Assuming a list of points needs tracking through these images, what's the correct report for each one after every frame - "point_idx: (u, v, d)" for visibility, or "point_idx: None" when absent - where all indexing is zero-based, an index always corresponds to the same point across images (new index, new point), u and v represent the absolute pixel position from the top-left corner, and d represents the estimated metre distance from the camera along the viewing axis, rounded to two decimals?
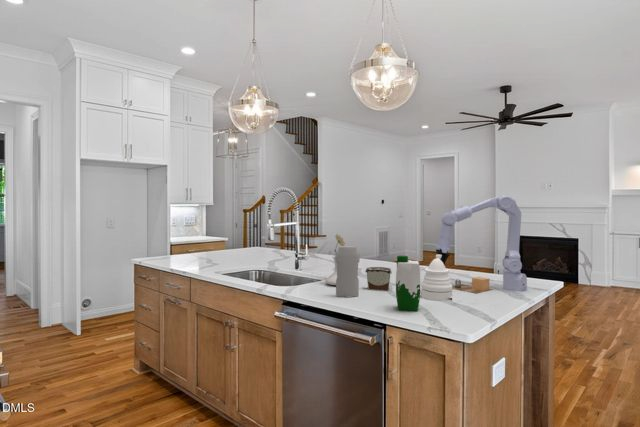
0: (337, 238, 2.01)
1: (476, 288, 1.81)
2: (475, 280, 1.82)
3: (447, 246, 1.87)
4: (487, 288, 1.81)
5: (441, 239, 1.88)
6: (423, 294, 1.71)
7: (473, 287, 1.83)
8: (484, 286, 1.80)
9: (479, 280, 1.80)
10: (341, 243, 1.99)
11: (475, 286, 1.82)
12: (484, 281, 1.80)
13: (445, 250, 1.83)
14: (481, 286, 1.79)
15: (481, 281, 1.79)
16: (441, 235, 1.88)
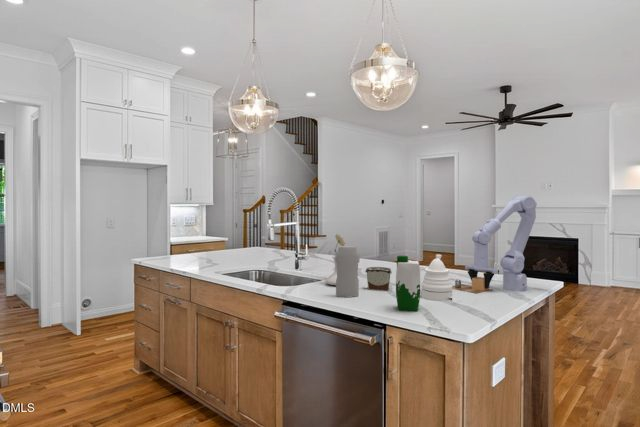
0: (337, 238, 2.01)
1: (476, 288, 1.81)
2: (475, 280, 1.82)
3: (487, 265, 1.81)
4: None
5: (483, 260, 1.80)
6: (423, 294, 1.71)
7: (473, 287, 1.83)
8: (484, 286, 1.80)
9: (479, 280, 1.80)
10: (341, 243, 1.99)
11: (475, 286, 1.82)
12: (484, 281, 1.80)
13: (496, 270, 1.77)
14: (481, 286, 1.79)
15: (481, 281, 1.79)
16: (478, 256, 1.80)
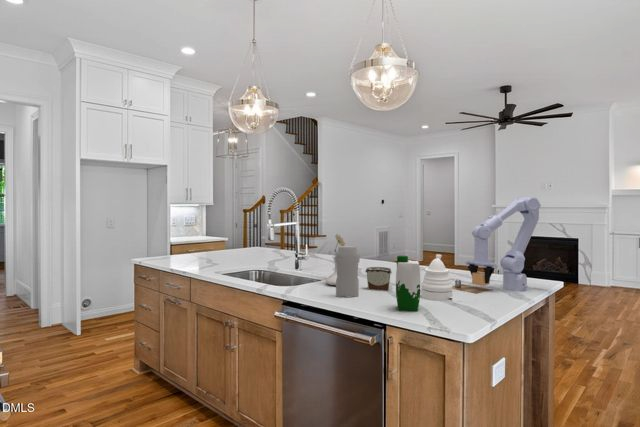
0: (337, 238, 2.01)
1: (476, 283, 1.81)
2: (475, 275, 1.82)
3: (487, 260, 1.81)
4: (487, 283, 1.81)
5: (483, 255, 1.80)
6: (423, 294, 1.71)
7: (473, 282, 1.82)
8: (484, 281, 1.80)
9: (479, 275, 1.80)
10: (341, 243, 1.99)
11: (475, 280, 1.82)
12: (484, 276, 1.80)
13: (496, 265, 1.77)
14: (481, 281, 1.79)
15: (481, 276, 1.79)
16: (478, 250, 1.80)
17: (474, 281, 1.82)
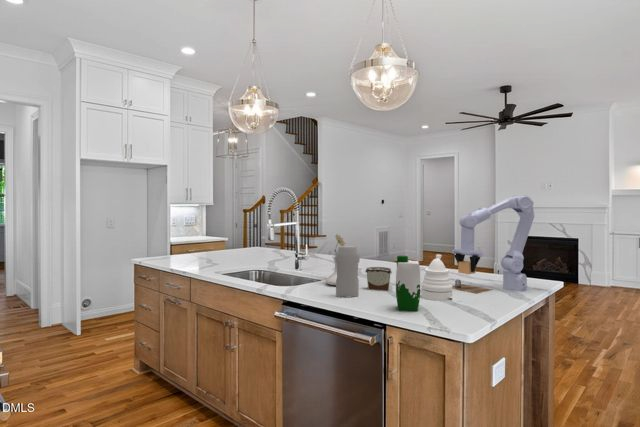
0: (337, 238, 2.01)
1: (462, 271, 1.83)
2: (461, 264, 1.83)
3: (473, 249, 1.83)
4: (473, 272, 1.83)
5: (469, 244, 1.81)
6: (423, 294, 1.71)
7: (459, 271, 1.84)
8: (470, 269, 1.81)
9: (465, 263, 1.82)
10: (341, 243, 1.99)
11: (461, 269, 1.83)
12: (470, 264, 1.81)
13: (482, 254, 1.79)
14: (467, 269, 1.81)
15: (467, 264, 1.81)
16: (464, 239, 1.82)
17: (460, 270, 1.84)
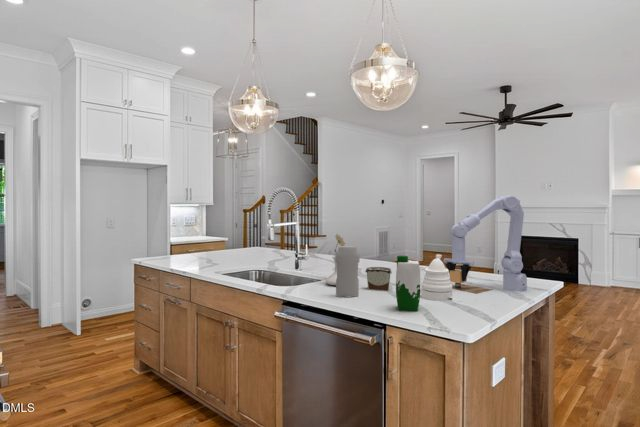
0: (337, 238, 2.01)
1: (453, 280, 1.84)
2: (452, 273, 1.85)
3: (464, 258, 1.84)
4: None
5: (460, 253, 1.82)
6: (423, 294, 1.71)
7: (451, 279, 1.85)
8: (461, 278, 1.83)
9: (456, 272, 1.83)
10: (341, 243, 1.99)
11: (453, 278, 1.85)
12: (461, 273, 1.82)
13: (473, 263, 1.80)
14: (458, 278, 1.82)
15: (458, 273, 1.82)
16: (455, 248, 1.83)
17: (451, 279, 1.85)
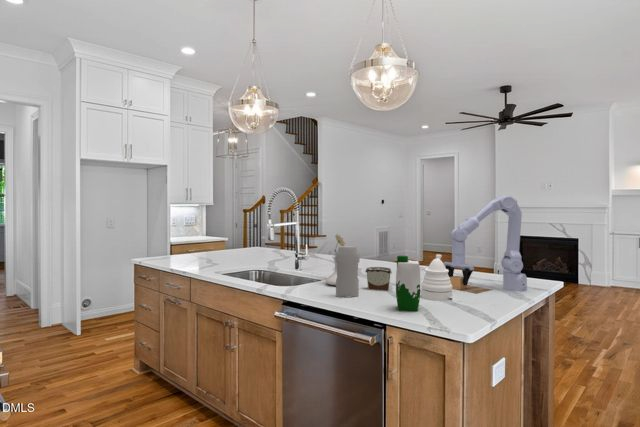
0: (337, 238, 2.01)
1: (453, 287, 1.84)
2: (452, 279, 1.85)
3: (464, 262, 1.84)
4: (464, 287, 1.84)
5: (460, 257, 1.82)
6: (423, 294, 1.71)
7: None
8: (461, 285, 1.83)
9: (456, 279, 1.83)
10: (341, 243, 1.99)
11: (453, 284, 1.85)
12: (461, 280, 1.82)
13: (473, 267, 1.80)
14: (458, 285, 1.82)
15: (458, 280, 1.82)
16: (454, 252, 1.84)
17: None
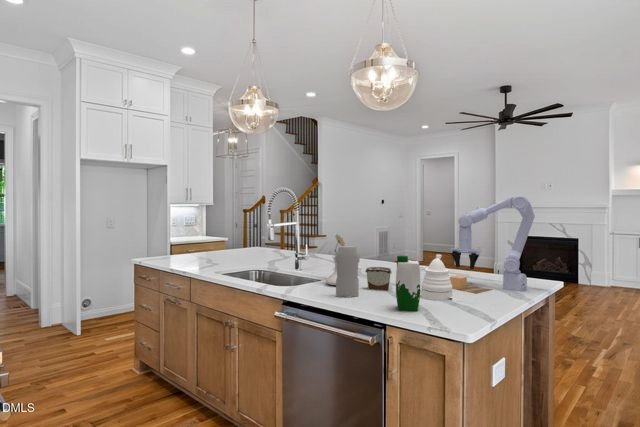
0: (337, 238, 2.01)
1: (453, 287, 1.84)
2: (452, 279, 1.85)
3: None
4: (464, 287, 1.84)
5: (467, 242, 1.90)
6: (423, 294, 1.71)
7: None
8: (461, 285, 1.83)
9: (456, 279, 1.83)
10: (341, 243, 1.99)
11: (453, 284, 1.85)
12: (461, 280, 1.82)
13: (479, 252, 1.88)
14: (458, 285, 1.82)
15: (458, 280, 1.82)
16: (459, 238, 1.93)
17: None
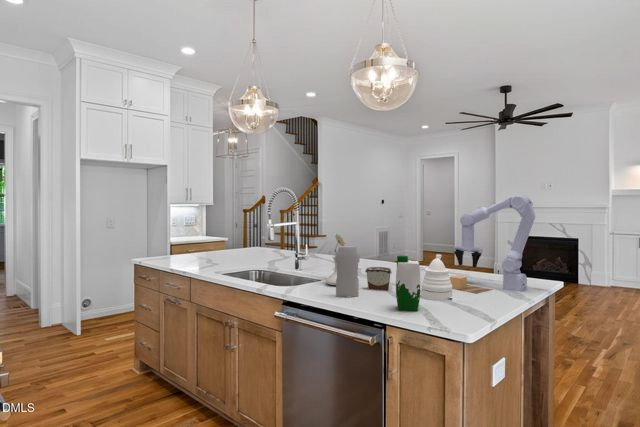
0: (337, 238, 2.01)
1: (453, 287, 1.84)
2: (452, 279, 1.85)
3: (473, 246, 1.96)
4: (464, 287, 1.84)
5: (469, 241, 1.94)
6: (423, 294, 1.71)
7: None
8: (461, 285, 1.83)
9: (456, 279, 1.83)
10: (341, 243, 1.99)
11: (453, 284, 1.85)
12: (461, 280, 1.82)
13: (481, 250, 1.91)
14: (458, 285, 1.82)
15: (458, 280, 1.82)
16: (462, 236, 1.97)
17: None
